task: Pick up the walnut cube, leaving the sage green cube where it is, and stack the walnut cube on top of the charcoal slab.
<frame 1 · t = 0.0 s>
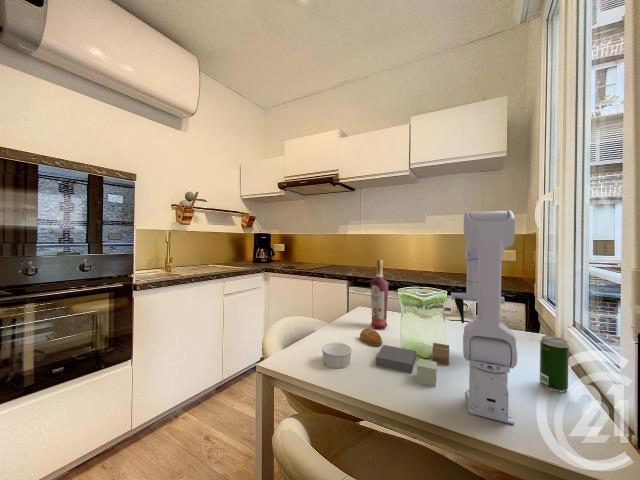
hand: (476, 324, 85), 10 cm above the table, tool pointing down, fingers open, 7 cm apart
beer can: (553, 387, 68), on the table
pastry: (371, 342, 97), on the table
walnut cube: (440, 361, 82), on the table
sage green cube: (426, 380, 70), on the table
ramekin: (336, 363, 80), on the table
liquor: (379, 327, 112), on the table
charcoal slab: (396, 363, 80), on the table
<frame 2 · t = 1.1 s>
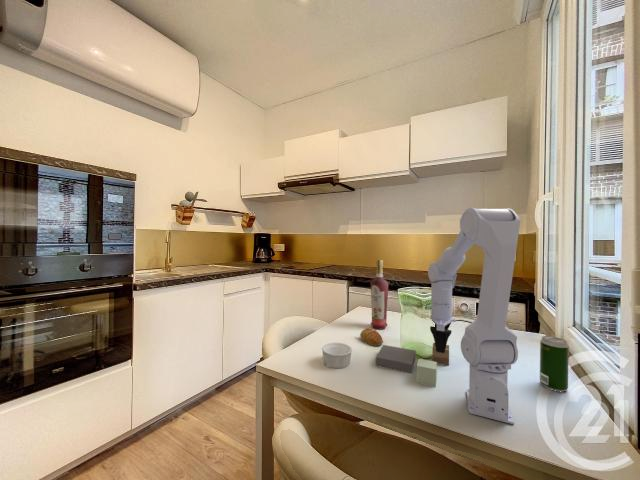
hand: (440, 347, 82), 4 cm above the table, tool pointing down, fingers open, 7 cm apart
nothing on the table moved.
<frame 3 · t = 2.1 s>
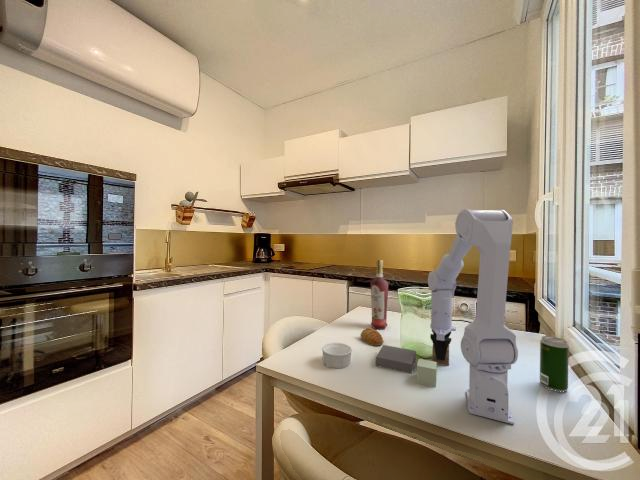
hand: (440, 356, 82), 1 cm above the table, tool pointing down, fingers closed on walnut cube, 4 cm apart
walnut cube: (440, 360, 82), on the table, touching gripper
everything else where it was.
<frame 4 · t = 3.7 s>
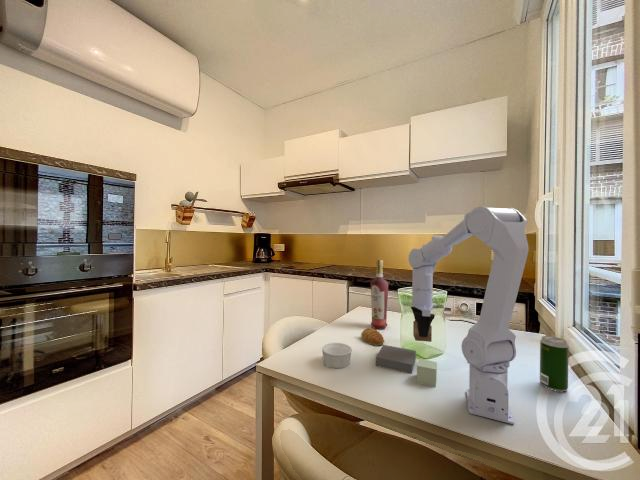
hand: (421, 333, 81), 8 cm above the table, tool pointing down, fingers closed on walnut cube, 4 cm apart
walnut cube: (422, 338, 81), point 7 cm above the table, touching gripper
everything else where it was.
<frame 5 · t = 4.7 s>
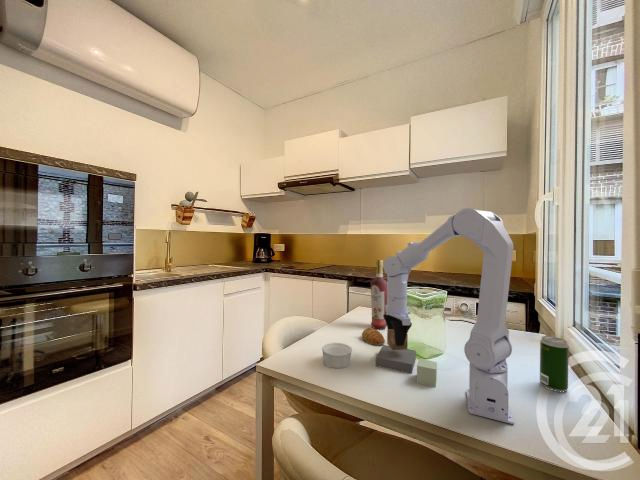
hand: (396, 341, 80), 6 cm above the table, tool pointing down, fingers closed on walnut cube, 4 cm apart
walnut cube: (397, 346, 80), point 5 cm above the table, touching gripper
when the fingers open (6 cm above the table, at t = 5.3 s): walnut cube drops 2 cm, point 3 cm above the table.
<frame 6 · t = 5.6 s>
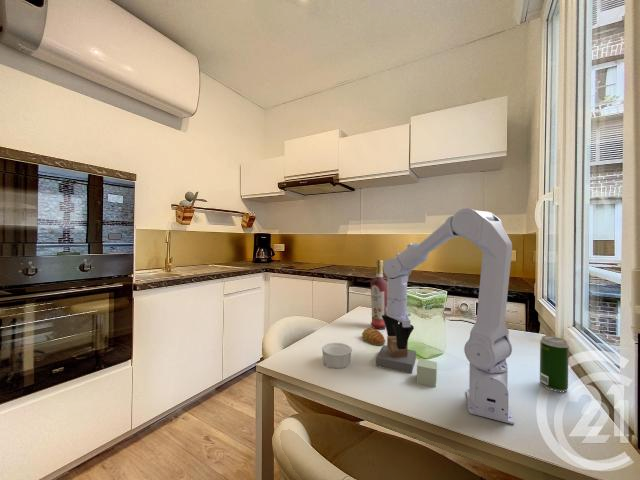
hand: (396, 343, 80), 6 cm above the table, tool pointing down, fingers open, 7 cm apart
walnut cube: (396, 353, 80), point 3 cm above the table
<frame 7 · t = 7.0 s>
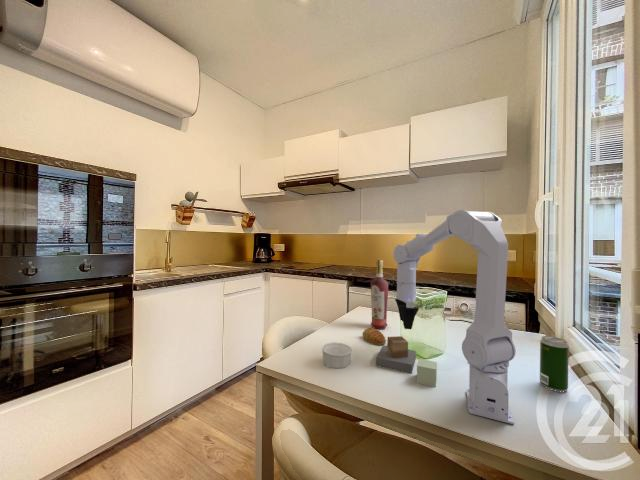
hand: (405, 324, 86), 9 cm above the table, tool pointing down, fingers open, 7 cm apart
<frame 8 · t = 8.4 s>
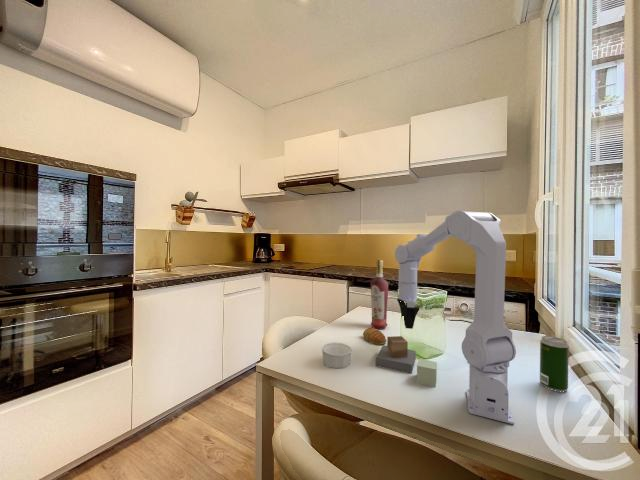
hand: (407, 324, 87), 9 cm above the table, tool pointing down, fingers open, 7 cm apart
at the end: walnut cube inside the target area on the charcoal slab (0.1 cm from its centre), point 3.0 cm above the charcoal slab's base; walnut cube tilted 0°; the gripper is holding nothing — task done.
